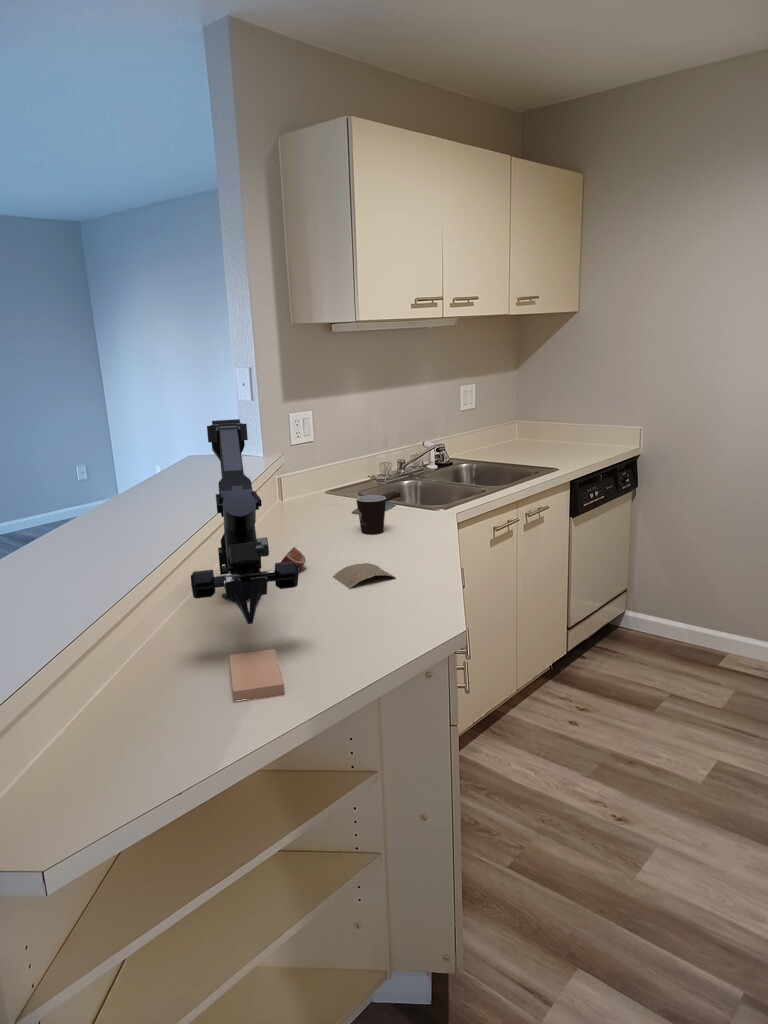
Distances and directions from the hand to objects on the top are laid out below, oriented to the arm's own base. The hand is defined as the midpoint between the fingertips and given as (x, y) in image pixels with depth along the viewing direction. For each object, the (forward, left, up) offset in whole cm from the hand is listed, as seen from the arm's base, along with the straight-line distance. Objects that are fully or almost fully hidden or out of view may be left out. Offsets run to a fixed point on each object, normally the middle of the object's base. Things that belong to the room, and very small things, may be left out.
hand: (250, 623), depth 126 cm
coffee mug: (-50, +74, -8) cm, 90 cm away
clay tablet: (-20, +44, -9) cm, 49 cm away
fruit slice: (-38, +36, -8) cm, 53 cm away
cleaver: (-72, +98, -8) cm, 122 cm away
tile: (-1, +1, -7) cm, 7 cm away
